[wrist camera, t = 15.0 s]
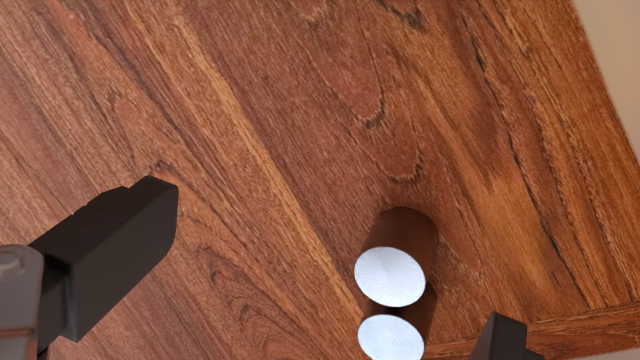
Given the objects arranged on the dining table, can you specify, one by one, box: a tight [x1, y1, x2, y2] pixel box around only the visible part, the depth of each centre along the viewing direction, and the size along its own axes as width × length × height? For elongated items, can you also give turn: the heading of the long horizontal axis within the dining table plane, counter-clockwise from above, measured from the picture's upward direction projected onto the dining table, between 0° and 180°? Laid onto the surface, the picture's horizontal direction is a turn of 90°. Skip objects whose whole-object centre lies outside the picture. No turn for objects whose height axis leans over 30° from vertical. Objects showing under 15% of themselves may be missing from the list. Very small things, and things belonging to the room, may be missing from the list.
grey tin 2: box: [357, 282, 436, 360], centre depth 49 cm, size 6×6×6 cm
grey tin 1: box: [354, 207, 438, 307], centre depth 46 cm, size 6×6×6 cm
